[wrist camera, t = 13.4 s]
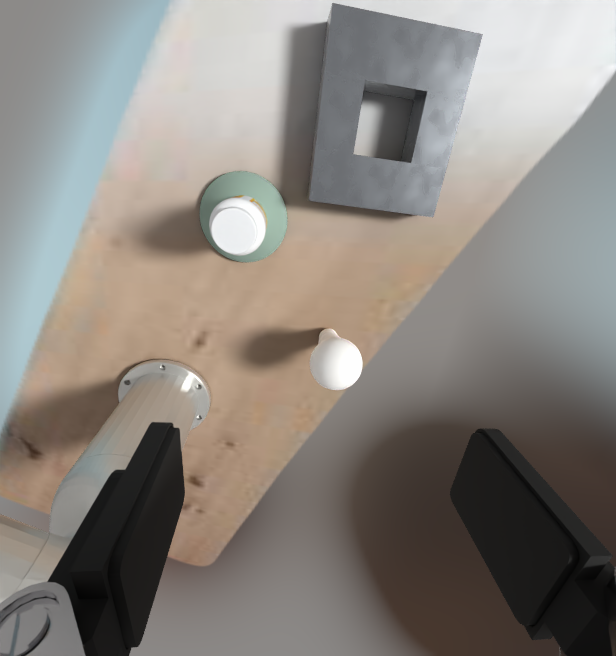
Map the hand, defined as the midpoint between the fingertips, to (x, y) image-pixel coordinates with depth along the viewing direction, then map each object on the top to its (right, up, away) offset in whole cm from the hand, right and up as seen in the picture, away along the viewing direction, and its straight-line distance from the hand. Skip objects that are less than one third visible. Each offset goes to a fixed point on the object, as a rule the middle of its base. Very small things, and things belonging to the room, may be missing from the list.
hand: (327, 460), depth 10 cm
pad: (-8, +17, +27) cm, 33 cm away
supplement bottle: (-8, +17, +27) cm, 33 cm away
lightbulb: (+2, +3, +35) cm, 35 cm away
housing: (+7, +26, +25) cm, 36 cm away
